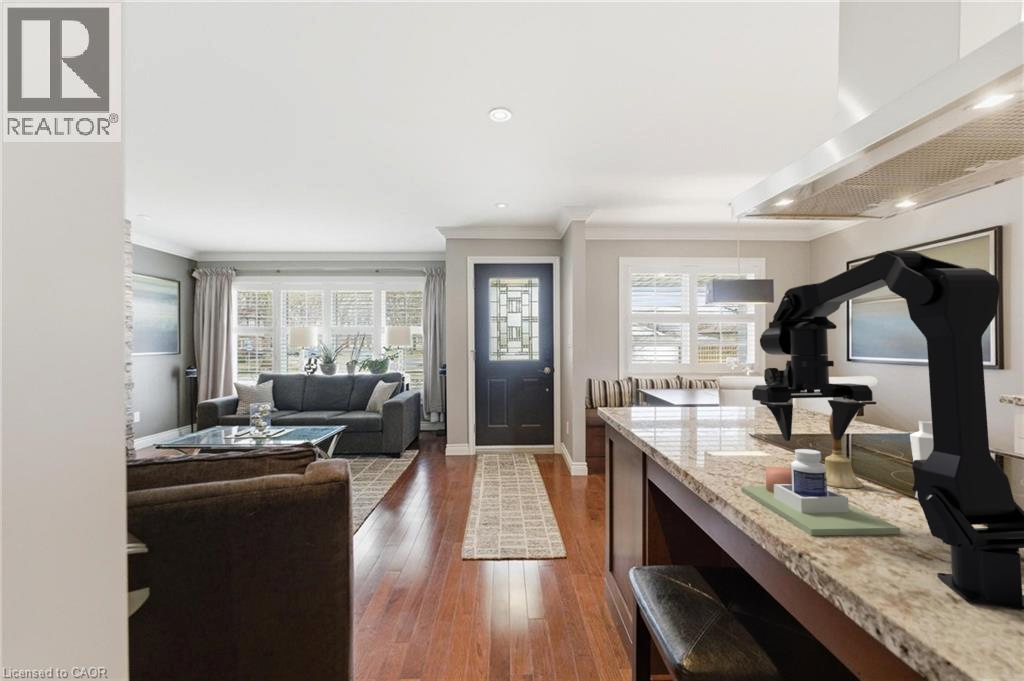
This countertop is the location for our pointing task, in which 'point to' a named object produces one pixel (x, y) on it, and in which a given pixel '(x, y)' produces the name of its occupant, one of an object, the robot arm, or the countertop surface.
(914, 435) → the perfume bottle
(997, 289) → the robot arm
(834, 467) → the hand bell
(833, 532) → the green board with tray
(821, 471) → the pill bottle
